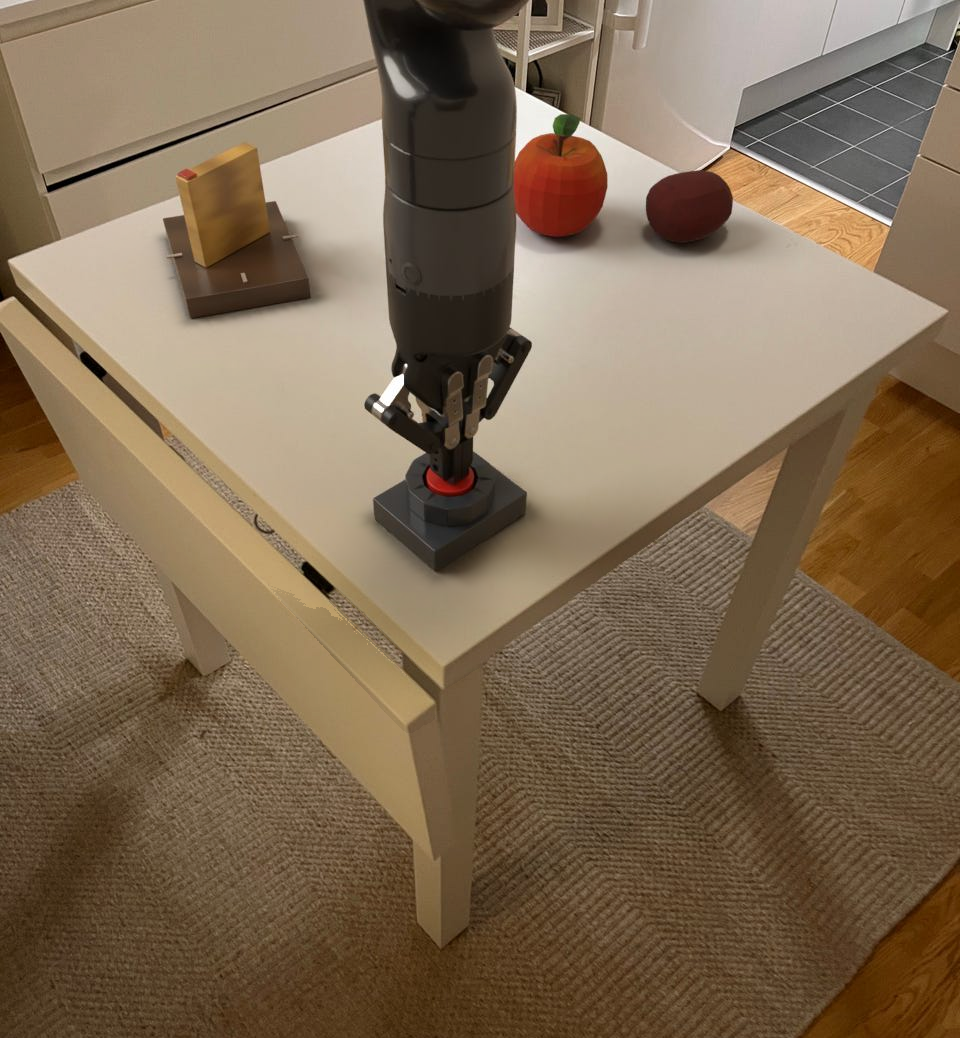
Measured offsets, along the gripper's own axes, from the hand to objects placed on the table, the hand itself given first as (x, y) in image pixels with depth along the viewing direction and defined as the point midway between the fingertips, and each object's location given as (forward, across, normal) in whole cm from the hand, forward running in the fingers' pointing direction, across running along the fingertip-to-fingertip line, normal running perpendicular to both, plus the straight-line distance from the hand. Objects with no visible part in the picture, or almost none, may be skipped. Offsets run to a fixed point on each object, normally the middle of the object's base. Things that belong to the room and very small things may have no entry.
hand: (451, 474), depth 71 cm
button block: (+4, 0, 0) cm, 4 cm away
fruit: (+4, -34, -24) cm, 42 cm away
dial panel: (+4, -6, -38) cm, 39 cm away
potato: (+4, -44, -14) cm, 46 cm away
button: (+2, 0, 0) cm, 2 cm away
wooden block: (+2, -6, -38) cm, 39 cm away
